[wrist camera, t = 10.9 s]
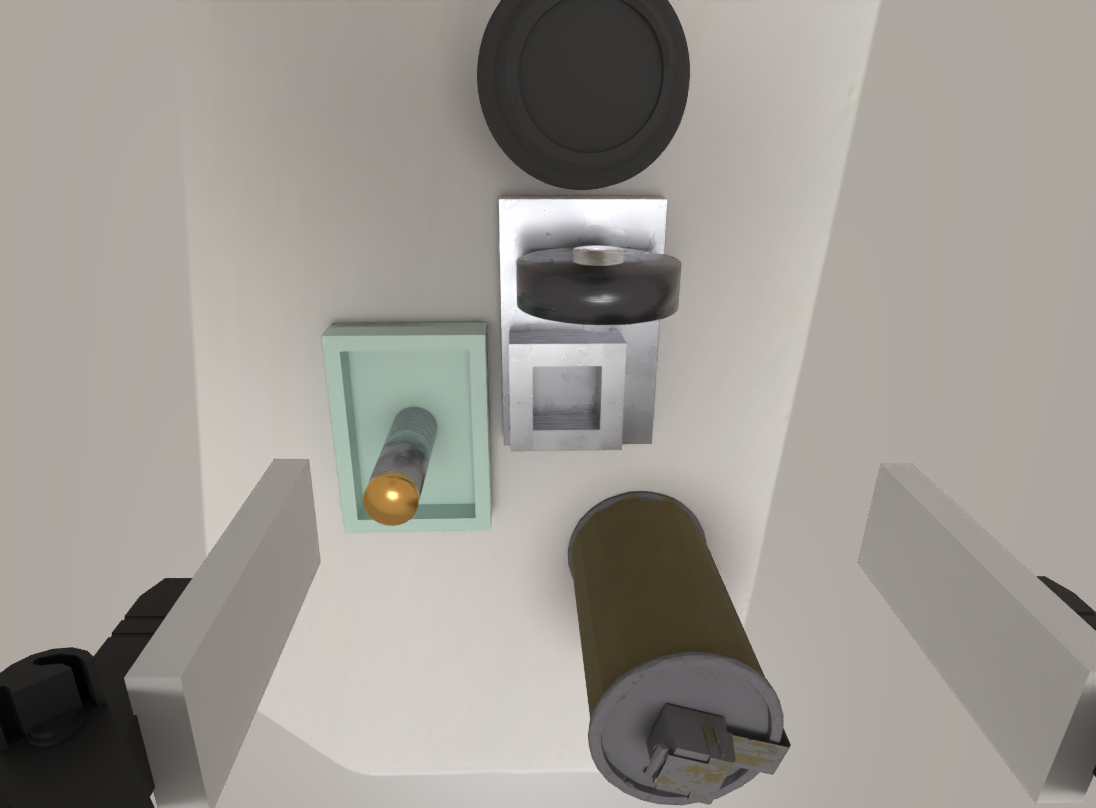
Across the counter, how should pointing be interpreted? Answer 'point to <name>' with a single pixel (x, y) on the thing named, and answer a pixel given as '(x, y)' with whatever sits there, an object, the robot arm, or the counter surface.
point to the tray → (412, 381)
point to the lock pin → (401, 468)
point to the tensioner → (582, 318)
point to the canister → (667, 658)
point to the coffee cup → (583, 86)
